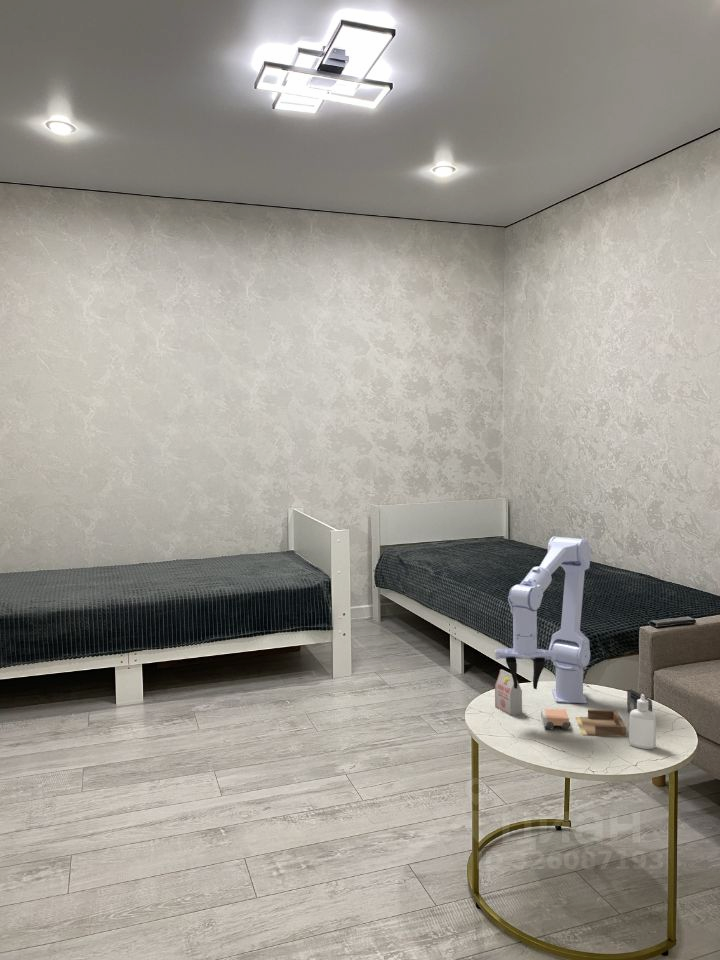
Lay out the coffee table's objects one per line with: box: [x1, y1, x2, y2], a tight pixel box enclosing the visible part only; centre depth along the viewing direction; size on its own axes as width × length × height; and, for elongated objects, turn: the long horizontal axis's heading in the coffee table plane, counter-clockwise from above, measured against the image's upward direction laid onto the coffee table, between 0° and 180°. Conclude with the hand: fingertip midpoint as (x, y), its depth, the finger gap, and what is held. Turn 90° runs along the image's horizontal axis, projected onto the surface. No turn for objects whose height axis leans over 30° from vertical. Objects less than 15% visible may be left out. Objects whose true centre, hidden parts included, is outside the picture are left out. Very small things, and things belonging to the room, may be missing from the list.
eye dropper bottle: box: [628, 693, 657, 750], centre depth 171 cm, size 4×6×12 cm
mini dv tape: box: [626, 689, 653, 715], centre depth 188 cm, size 8×2×6 cm, turn 14°
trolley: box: [540, 708, 572, 730], centre depth 184 cm, size 7×6×3 cm
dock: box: [575, 708, 627, 738], centre depth 183 cm, size 11×10×2 cm
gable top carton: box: [494, 669, 523, 716], centre depth 195 cm, size 4×7×10 cm, turn 24°
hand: (525, 687), depth 185 cm, fingers open, 4 cm apart
